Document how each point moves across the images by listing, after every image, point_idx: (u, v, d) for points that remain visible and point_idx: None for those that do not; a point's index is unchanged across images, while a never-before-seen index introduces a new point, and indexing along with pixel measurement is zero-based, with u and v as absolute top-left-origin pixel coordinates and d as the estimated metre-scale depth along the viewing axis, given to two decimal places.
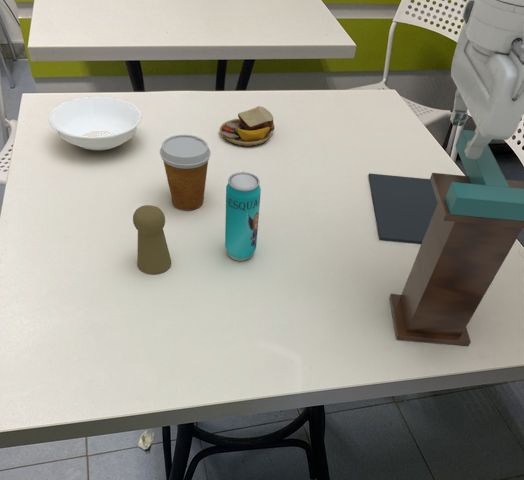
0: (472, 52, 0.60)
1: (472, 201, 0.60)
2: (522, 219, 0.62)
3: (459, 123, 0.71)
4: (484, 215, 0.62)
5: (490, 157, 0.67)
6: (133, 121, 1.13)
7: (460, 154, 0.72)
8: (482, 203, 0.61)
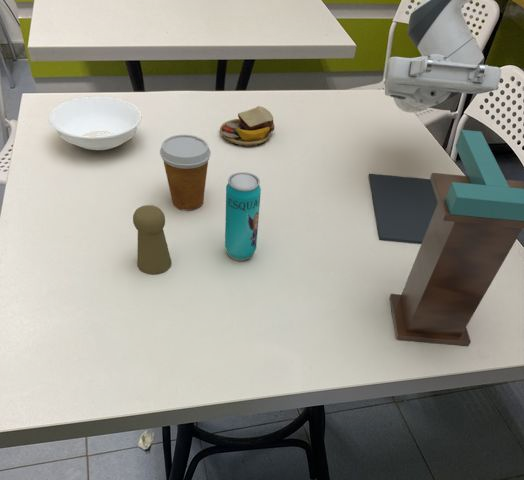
0: (440, 60, 0.92)
1: (472, 201, 0.60)
2: (522, 219, 0.62)
3: None
4: (484, 215, 0.62)
5: (490, 157, 0.67)
6: (133, 121, 1.13)
7: (460, 154, 0.72)
8: (482, 203, 0.61)
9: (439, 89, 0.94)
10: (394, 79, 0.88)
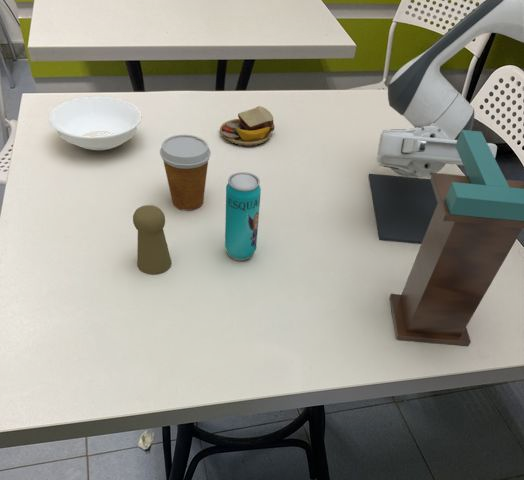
0: (434, 133, 0.89)
1: (472, 201, 0.60)
2: (522, 219, 0.62)
3: None
4: (484, 215, 0.62)
5: (490, 157, 0.67)
6: (133, 121, 1.13)
7: (460, 154, 0.72)
8: (482, 203, 0.61)
9: (433, 162, 0.91)
10: (386, 156, 0.86)
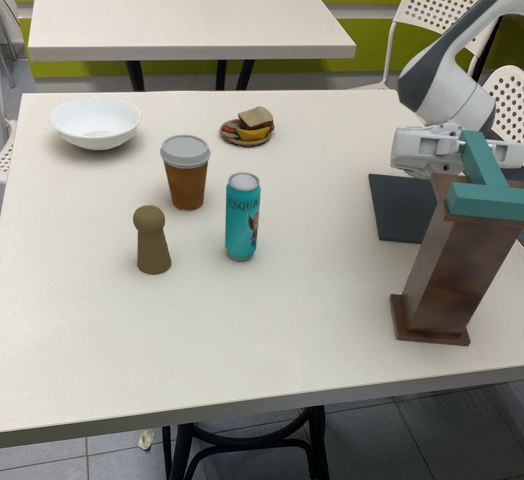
0: (454, 131, 0.79)
1: (473, 201, 0.60)
2: (522, 219, 0.62)
3: None
4: (484, 215, 0.62)
5: (490, 157, 0.67)
6: (133, 121, 1.13)
7: (460, 154, 0.72)
8: (482, 203, 0.61)
9: (453, 163, 0.81)
10: (402, 156, 0.76)
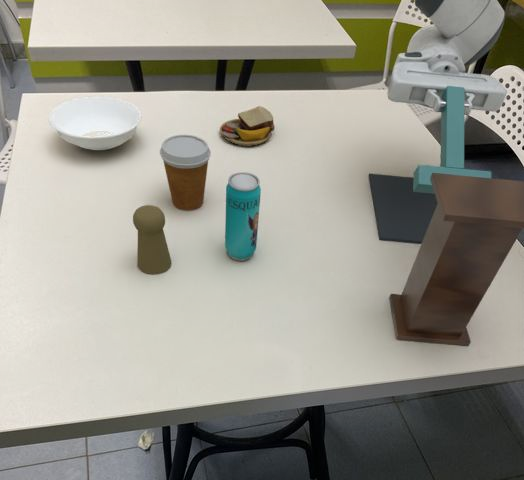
0: (449, 64, 0.87)
1: (430, 186, 0.80)
2: None
3: None
4: None
5: (460, 127, 0.81)
6: (133, 121, 1.13)
7: None
8: None
9: None
10: (394, 101, 0.87)
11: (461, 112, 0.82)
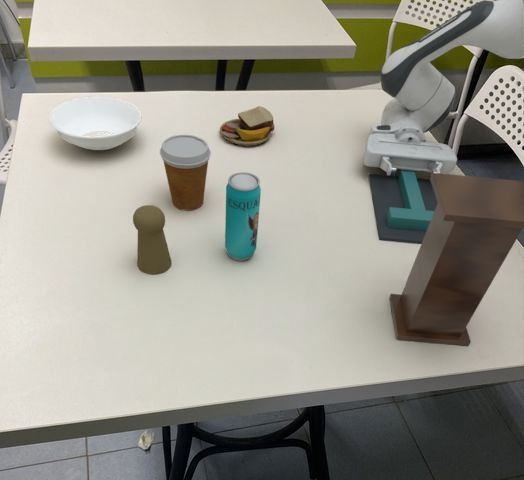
0: (412, 136, 1.09)
1: (401, 219, 0.98)
2: None
3: (394, 172, 1.05)
4: (409, 228, 0.99)
5: (417, 190, 1.05)
6: (133, 121, 1.13)
7: (400, 186, 1.09)
8: (407, 221, 0.98)
9: None
10: None
11: (415, 182, 1.06)
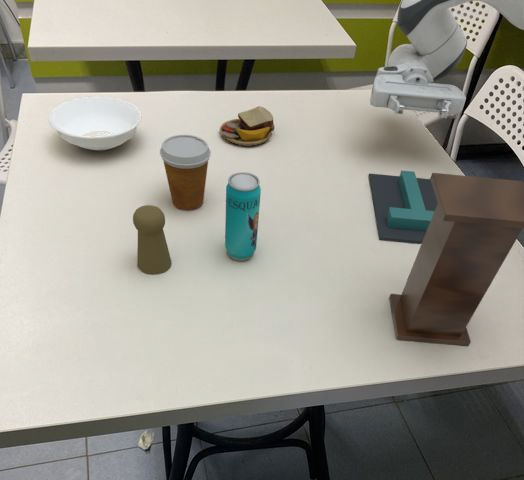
0: (420, 76, 1.08)
1: (401, 219, 0.98)
2: None
3: (402, 110, 1.03)
4: (409, 228, 0.99)
5: (417, 190, 1.05)
6: (133, 121, 1.13)
7: (400, 186, 1.09)
8: (407, 221, 0.98)
9: None
10: (375, 106, 1.08)
11: (415, 182, 1.06)
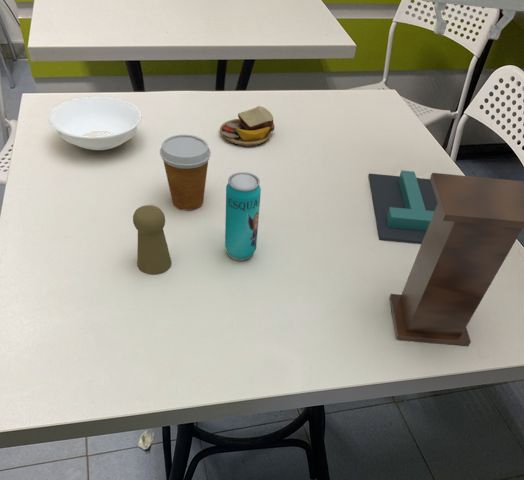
0: None
1: (401, 219, 0.98)
2: None
3: None
4: (409, 228, 0.99)
5: (417, 190, 1.05)
6: (133, 121, 1.13)
7: (400, 186, 1.09)
8: (407, 221, 0.98)
9: None
10: None
11: (415, 182, 1.06)
